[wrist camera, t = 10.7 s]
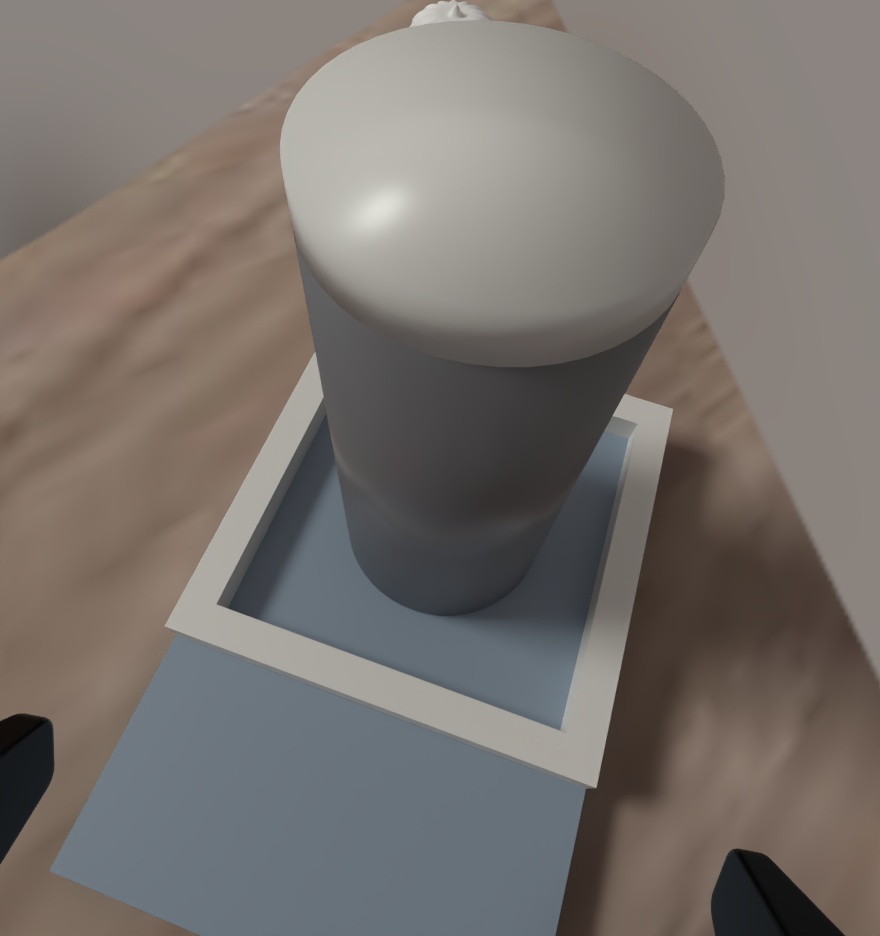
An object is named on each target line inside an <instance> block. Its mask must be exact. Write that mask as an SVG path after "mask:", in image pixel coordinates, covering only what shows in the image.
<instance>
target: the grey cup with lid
mask: <svg viewBox="0 0 880 936" xmlns="http://www.w3.org/2000/svg"><path fill="white" fill-rule="evenodd" d="M280 156H281V166H282V173H283V178H284V184H285V189H286V194H287V200H288V205H289V211H290V216H291V222H292V227H293V233H294V238H295V243H296V249H297V254H298V260H299V265H300V271H301V276H302V282H303V287H304V293H305V298H306V303H307V309H308V314H309V320H310V325H311V331H312V336H313V342H314V347H315V352H316V358H317V363H318V369H319V374H320V380H321V385H322V391H323V396H324V401H325V407H326V412H327V418H328V423H329V429H330V434H331V440H332V445H333V450H334V456H335V461H336V467H337V472H338V478H339V483H340V489H341V494H342V499H343V505H344V510H345V516H346V521H347V527H348V532H349V538H350V542H351V546H352V550H353V553H354V555H355V558H356V560H357V562H358V564H359V566H360V568H361V569H362V571H363V573H364V574H365V575H366V577H367V578H368V579H369V580H370V582H371V583H372V584H373V585H374V586H375V587H376V588H377V589H378V590H379V591H380V592H382V593H383V594H384V595H386V596H387V597H388V598H390V599H391V600H393V601H395V602H397V603H398V604H400V605H402V606H404V607H407V608H409V609H412V610H415V611H418V612H422V613H426V614H432V615H442V616H445V615H460V614H466V613H471V612H474V611H478V610H481V609H483V608H486V607H488V606H490V605H492V604H494V603H496V602H497V601H499V600H501V599H502V598H504V597H505V596H506V595H507V594H509V593H510V592H511V591H512V590H513V589H514V588H515V587H516V586H517V585H518V584H519V583H520V582H521V580H522V579H523V578H524V576H525V575H526V573H527V572H528V570H529V568H530V566H531V565H532V563H533V561H534V559H535V557H536V555H537V554H538V552H539V550H540V548H541V546H542V544H543V543H544V541H545V539H546V537H547V535H548V533H549V532H550V530H551V528H552V526H553V524H554V522H555V521H556V519H557V517H558V515H559V513H560V511H561V510H562V508H563V506H564V504H565V502H566V500H567V499H568V497H569V495H570V493H571V491H572V489H573V488H574V486H575V484H576V482H577V480H578V478H579V477H580V475H581V473H582V471H583V469H584V467H585V466H586V464H587V462H588V460H589V458H590V456H591V455H592V453H593V451H594V449H595V447H596V445H597V444H598V442H599V440H600V438H601V436H602V434H603V433H604V431H605V429H606V427H607V425H608V423H609V422H610V420H611V418H612V416H613V414H614V412H615V411H616V409H617V407H618V405H619V403H620V401H621V399H622V398H623V396H624V394H625V392H626V390H627V388H628V387H629V385H630V383H631V381H632V379H633V377H634V376H635V374H636V372H637V370H638V368H639V366H640V365H641V363H642V361H643V359H644V357H645V355H646V354H647V352H648V350H649V348H650V346H651V344H652V343H653V341H654V339H655V337H656V335H657V333H658V332H659V330H660V328H661V326H662V324H663V322H664V321H665V319H666V317H667V315H668V313H669V311H670V310H671V308H672V306H673V304H674V302H675V300H676V299H677V297H678V295H679V293H680V291H681V289H682V288H683V286H684V284H685V282H686V280H687V278H688V276H689V275H690V273H691V271H692V269H693V267H694V266H695V264H696V262H697V260H698V258H699V256H700V255H701V253H702V251H703V249H704V247H705V245H706V243H707V242H708V240H709V238H710V236H711V234H712V232H713V230H714V228H715V225H716V223H717V221H718V219H719V216H720V213H721V209H722V204H723V199H724V171H723V166H722V161H721V157H720V154H719V151H718V149H717V146H716V143H715V141H714V139H713V137H712V135H711V133H710V132H709V130H708V128H707V126H706V125H705V123H704V121H703V120H702V119H701V118H700V116H699V115H698V114H697V112H696V111H695V110H694V109H693V107H692V106H691V105H690V104H689V103H688V102H687V101H686V100H685V99H684V98H683V97H682V96H681V95H680V94H679V93H678V92H677V91H676V90H675V89H674V88H673V87H671V86H670V85H669V84H668V83H666V82H665V81H664V80H663V79H662V78H660V77H659V76H658V75H656V74H655V73H653V72H652V71H650V70H649V69H647V68H645V67H643V66H642V65H641V64H639V63H638V62H635V61H634V60H632V59H630V58H628V57H626V56H624V55H622V54H620V53H619V52H617V51H614V50H612V49H610V48H607V47H605V46H603V45H600V44H598V43H596V42H593V41H590V40H587V39H584V38H581V37H578V36H575V35H572V34H569V33H565V32H561V31H557V30H553V29H549V28H544V27H539V26H533V25H528V24H521V23H512V22H503V21H482V20H468V21H447V22H439V23H430V24H424V25H419V26H414V27H409V28H404V29H400V30H397V31H393V32H390V33H386V34H383V35H380V36H377V37H375V38H373V39H370V40H368V41H365V42H363V43H360V44H358V45H356V46H354V47H353V48H351V49H349V50H347V51H345V52H343V53H341V54H340V55H338V56H337V57H336V58H334V59H333V60H331V61H330V62H328V63H327V64H325V65H324V66H323V67H322V68H321V69H320V70H319V71H317V72H316V73H315V74H314V75H313V76H312V77H311V78H310V79H309V80H308V81H307V82H306V84H305V85H304V86H303V87H302V89H301V90H300V91H299V93H298V94H297V95H296V97H295V99H294V101H293V103H292V104H291V106H290V108H289V110H288V112H287V115H286V118H285V121H284V124H283V128H282V133H281V142H280Z"/></svg>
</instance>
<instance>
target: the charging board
mask: <svg viewBox="0 0 880 936" xmlns="http://www.w3.org/2000/svg"><path fill="white" fill-rule="evenodd" d="M672 412H673V409H671V408H668V407H665V406H661V405H658V404H655V403H652V402H649V401H645V400H642V399H639V398H636V397H632V396H629V395H626V394H624V396H623V398H622V399H621V401H620V403H619V405H618V407H617V409H616V411H615V412H614V414H613V416H612V418H611V420H610V422H609V423H608V425H607V427H606V429H605V431H604V433H603V434H602V436H601V438H600V440H599V442H598V444H597V445H596V447H595V449H594V451H593V453H592V455H591V456H590V458H589V460H588V462H587V464H586V466H585V467H584V469H583V471H582V473H581V475H580V477H579V478H578V480H577V482H576V484H575V486H574V488H573V489H572V491H571V493H570V495H569V497H568V499H567V500H566V502H565V504H564V506H563V508H562V510H561V511H560V513H559V515H558V517H557V519H556V521H555V522H554V524H553V526H552V528H551V530H550V532H549V533H548V535H547V537H546V539H545V541H544V543H543V544H542V546H541V548H540V550H539V552H538V554H537V555H536V557H535V559H534V561H533V563H532V565H531V566H530V568H529V570H528V572H527V573H526V575H525V576H524V578H523V579H522V580H521V582H520V583H519V584H518V585H517V586H516V587H515V588H514V589H513V590H512V591H511V592H510V593H509V594H507V595H506V596H505V597H504V598H502V599H501V600H499V601H497V602H496V603H494V604H492V605H490V606H488V607H486V608H483V609H481V610H478V611H474V612H471V613H466V614H460V615H445V616H442V615H432V614H426V613H422V612H418V611H415V610H412V609H409V608H407V607H404V606H402V605H400V604H398V603H397V602H395V601H393V600H391V599H390V598H388V597H387V596H386V595H384V594H383V593H382V592H380V591H379V590H378V589H377V588H376V587H375V586H374V585H373V584H372V583H371V582H370V580H369V579H368V578H367V577H366V575H365V574H364V573H363V571H362V569H361V568H360V566H359V564H358V562H357V560H356V558H355V555H354V553H353V550H352V546H351V542H350V538H349V532H348V527H347V521H346V516H345V510H344V505H343V499H342V494H341V489H340V483H339V478H338V472H337V467H336V461H335V456H334V450H333V445H332V440H331V434H330V429H329V423H328V418H327V412H326V407H325V401H324V396H323V391H322V385H321V380H320V374H319V369H318V363H317V358H316V352H315V353H314V355H313V356H312V358H311V360H310V362H309V364H308V366H307V367H306V369H305V371H304V373H303V375H302V376H301V378H300V380H299V382H298V384H297V386H296V387H295V389H294V391H293V393H292V395H291V397H290V398H289V400H288V402H287V404H286V406H285V408H284V409H283V411H282V413H281V415H280V417H279V418H278V420H277V422H276V424H275V426H274V428H273V429H272V431H271V433H270V435H269V437H268V439H267V440H266V442H265V444H264V446H263V448H262V449H261V451H260V453H259V455H258V457H257V459H256V460H255V462H254V464H253V466H252V468H251V470H250V471H249V473H248V475H247V477H246V479H245V480H244V482H243V484H242V486H241V488H240V490H239V491H238V493H237V495H236V497H235V499H234V501H233V502H232V504H231V506H230V508H229V510H228V511H227V513H226V515H225V517H224V519H223V521H222V522H221V524H220V526H219V528H218V530H217V532H216V533H215V535H214V537H213V539H212V541H211V542H210V544H209V546H208V548H207V550H206V552H205V553H204V555H203V557H202V559H201V561H200V563H199V564H198V566H197V568H196V570H195V572H194V573H193V575H192V577H191V579H190V581H189V583H188V584H187V586H186V588H185V590H184V592H183V594H182V595H181V597H180V599H179V601H178V603H177V604H176V606H175V608H174V610H173V612H172V614H171V615H170V617H169V619H168V621H167V623H166V625H165V627H166V628H167V629H169V630H170V631H172V632H173V633H174V634H176V636H175V638H174V639H173V641H172V643H171V645H170V647H169V649H168V651H167V652H166V654H165V656H164V658H163V660H162V662H161V664H160V666H159V667H158V669H157V671H156V673H155V675H154V677H153V679H152V680H151V682H150V684H149V686H148V688H147V690H146V692H145V693H144V695H143V697H142V699H141V701H140V703H139V705H138V707H137V708H136V710H135V712H134V714H133V716H132V718H131V720H130V721H129V723H128V725H127V727H126V729H125V731H124V733H123V735H122V736H121V738H120V740H119V742H118V744H117V746H116V748H115V749H114V751H113V753H112V755H111V757H110V759H109V761H108V762H107V764H106V766H105V768H104V770H103V772H102V774H101V776H100V777H99V779H98V781H97V783H96V785H95V787H94V789H93V790H92V792H91V794H90V796H89V798H88V800H87V802H86V803H85V805H84V807H83V809H82V811H81V813H80V815H79V817H78V818H77V820H76V822H75V824H74V826H73V828H72V830H71V831H70V833H69V835H68V837H67V839H66V841H65V843H64V845H63V846H62V848H61V850H60V852H59V854H58V856H57V858H56V859H55V861H54V863H53V865H52V867H51V869H50V872H52V873H55V874H57V875H59V876H62V877H64V878H67V879H69V880H71V881H74V882H76V883H78V884H81V885H83V886H85V887H88V888H90V889H92V890H95V891H97V892H99V893H102V894H104V895H106V896H109V897H111V898H113V899H116V900H118V901H120V902H123V903H125V904H127V905H130V906H132V907H135V908H137V909H139V910H142V911H144V912H146V913H149V914H151V915H153V916H156V917H158V918H160V919H163V920H165V921H167V922H170V923H172V924H174V925H177V926H179V927H181V928H184V929H186V930H188V931H191V932H193V933H196V934H198V935H200V936H555V935H556V930H557V925H558V921H559V916H560V911H561V906H562V902H563V897H564V892H565V887H566V882H567V878H568V873H569V868H570V863H571V858H572V854H573V849H574V844H575V839H576V835H577V830H578V825H579V820H580V815H581V811H582V806H583V801H584V796H585V791H586V789H590V788H597V783H598V778H599V773H600V768H601V763H602V758H603V753H604V748H605V743H606V738H607V733H608V728H609V723H610V718H611V713H612V708H613V703H614V699H615V694H616V689H617V684H618V679H619V674H620V669H621V664H622V659H623V654H624V649H625V644H626V639H627V634H628V629H629V624H630V619H631V614H632V609H633V605H634V600H635V595H636V590H637V585H638V580H639V575H640V570H641V565H642V560H643V555H644V550H645V545H646V540H647V535H648V530H649V525H650V520H651V516H652V511H653V506H654V501H655V496H656V491H657V486H658V481H659V476H660V471H661V466H662V461H663V456H664V451H665V446H666V441H667V436H668V431H669V426H670V422H671V417H672Z"/></svg>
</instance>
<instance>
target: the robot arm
mask: <svg viewBox="0 0 880 936" xmlns="http://www.w3.org/2000/svg"><path fill="white" fill-rule="evenodd" d="M53 772H54V737H53V724H52V722H51V721H50V719H47V718H45V717H40V716H35V715H30V714H16V715H13V716H10V717H8V718H6V719H4V720H1V721H0V864H1V863H2V861H3V859H4V858H5V856H6V854H7V853H8V851H9V850H10V848H11V846H12V845H13V843H14V842H15V840H16V838H17V837H18V835H19V833H20V832H21V830H22V829H23V827H24V825H25V824H26V822H27V820H28V819H29V817H30V816H31V814H32V812H33V811H34V809H35V807H36V806H37V804H38V803H39V801H40V799H41V798H42V796H43V794H44V793H45V791H46V790H47V788H48V786H49V784H50V782H51V779H52V776H53ZM711 914H712V920H713V926H714V931H715V936H845V935H844V934H843V933H842V932H841V931H840V930H839V929H838V928H837V927H836V926H835V925H834V924H833V923H832V922H831V921H830V920H829V919H828V918H827V917H826V916H825V914H824V913H823V912H822V911H821V910H820V909H819V908H818V907H817V906H816V905H815V904H814V903H813V902H812V901H811V900H810V899H809V898H808V897H807V896H806V895H805V894H804V893H803V892H802V891H801V890H800V889H799V888H798V887H797V886H796V885H795V884H794V883H793V882H792V881H791V879H790V878H789V877H788V876H787V875H786V874H785V873H784V872H783V871H782V870H781V869H780V868H779V867H778V866H777V865H776V864H775V863H774V862H773V861H772V860H771V859H770V858H769V857H768V856H766V855H764V854H762V853H758V852H753V851H748V850H743V849H732V850H731V851H730V852H729V853H728V855H727V857H726V859H725V862H724V865H723V867H722V870H721V872H720V875H719V878H718V880H717V883H716V885H715V888H714V891H713V894H712V899H711Z"/></svg>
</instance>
